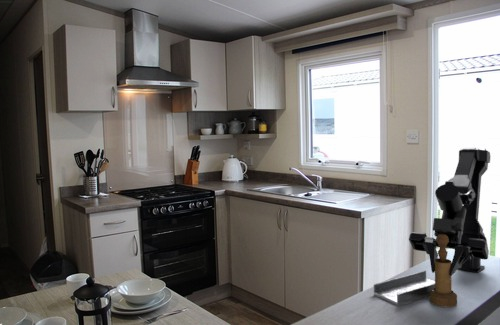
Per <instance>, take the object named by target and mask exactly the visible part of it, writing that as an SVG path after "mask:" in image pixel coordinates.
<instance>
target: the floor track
mask: <svg viewBox="0 0 500 325" xmlns="http://www.w3.org/2000/svg"><path fill="white" fill-rule="evenodd" d="M434 288H435V280H433V279H429V278H428V277H427V270H422V271H417V272H414V273H410V274H408V275H407V274H406V275H403V276H399V277H396V278H391V279H389V280H385V281H381V282H376V283H374V284H373V295H374V296H375V297H378V298H380V299H382V300H384V301H387V302H389V303H391V304H393V305H396V306H397V307H400V306H403V305H406V304H409V303H412V302H416V301H419V300H423V299H426V298H430V291H432V290H433V289H434Z"/></svg>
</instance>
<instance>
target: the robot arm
mask: <svg viewBox="0 0 500 325" xmlns="http://www.w3.org/2000/svg"><path fill="white" fill-rule="evenodd" d="M489 163H491V152H490V151H488V150H487V149H486V148H476V147H463V148H460V150H458V162H457V166H456V167H455V168H456V169H455V171H454V172H455V173H454V175H453V177H452V178H450V179H448V180H446V181H445V183H444V184H441V185H440V186H439V187H437V189H435V193H434V195H435V197H436V200H437V202H438V206H439V208H440V210H441V211H442V213H441V214H442V215H441V218H439V217H434V218H433V223H432V231H434V236H435V238H434V237H430V236H428V234H427V233H426V232H418V231H417V232H416V231H412V232H410V234H409V237H408V241H409V243H410V246H412V247H411V248H412V249H413V250H415V251H419V252H420V251H421V252H425V253H426V254H427V255H429V263H430V269H431V272H432V274H435V259H437V258H439V255H438V251H437V248H440V247H439V245H438V243H437V242H436V237H437V235H439V234H445V235H447V236H448V238H449V242H448V244H447V246H446V248H445V249H450V250H451V249H452V250H454V253H453V258H452V260H451V267H450V272H449V274H450V276H451V277H452V276H453V275H454V274H455V272H457V270H461V271H466V272H467V271H468V272H473V273H479V272H480V271H482V270H484V269H485V267H486V266H485V265H482V264H481V260H486V261H487V260H488V259H489V254H490V252H489V247H488V240H487V237H486V236H485V235H486V234H485V232H484V228H483V227H482V225H481V223H480V221H479V213H480V212H479V210H480V199H481V198H480V197H481V187H482V186H481V184H482V176H483V175H484V174H485V173H487V171H488V167H489Z"/></svg>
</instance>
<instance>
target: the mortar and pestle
mask: <svg viewBox="0 0 500 325" xmlns="http://www.w3.org/2000/svg"><path fill="white" fill-rule="evenodd" d="M435 239H436V242H437V243H438V245H439V247H438V248H439V249H438V251H437V253H438V258H437V259H435V272H434V281H435V288H434V289H433V290H432V291H430V296H429V302H430V303H431V304H433V305H435V306H437V307H442V308H453V307H456V306H458V294H457V293H456V292H454V290H453V289H452V276H450V274H449V272H450V267H451V263H452V260H450V259H447V257H448V251H447V250H446V249H447V248H446V246H447V244H448V242H449V238H448V236H447V235H445V234H439V235H437V237H436V236H435Z"/></svg>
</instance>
